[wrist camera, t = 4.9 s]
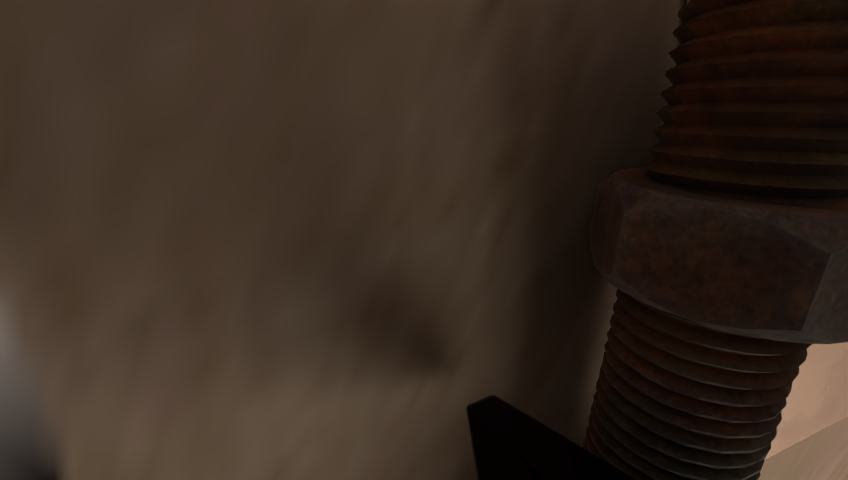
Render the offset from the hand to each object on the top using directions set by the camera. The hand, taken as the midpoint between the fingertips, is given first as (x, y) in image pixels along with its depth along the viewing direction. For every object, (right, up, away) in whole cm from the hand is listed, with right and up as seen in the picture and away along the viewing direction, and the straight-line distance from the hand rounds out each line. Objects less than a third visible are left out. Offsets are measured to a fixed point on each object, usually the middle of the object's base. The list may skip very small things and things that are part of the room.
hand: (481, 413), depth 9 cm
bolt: (+4, +2, +2) cm, 4 cm away
